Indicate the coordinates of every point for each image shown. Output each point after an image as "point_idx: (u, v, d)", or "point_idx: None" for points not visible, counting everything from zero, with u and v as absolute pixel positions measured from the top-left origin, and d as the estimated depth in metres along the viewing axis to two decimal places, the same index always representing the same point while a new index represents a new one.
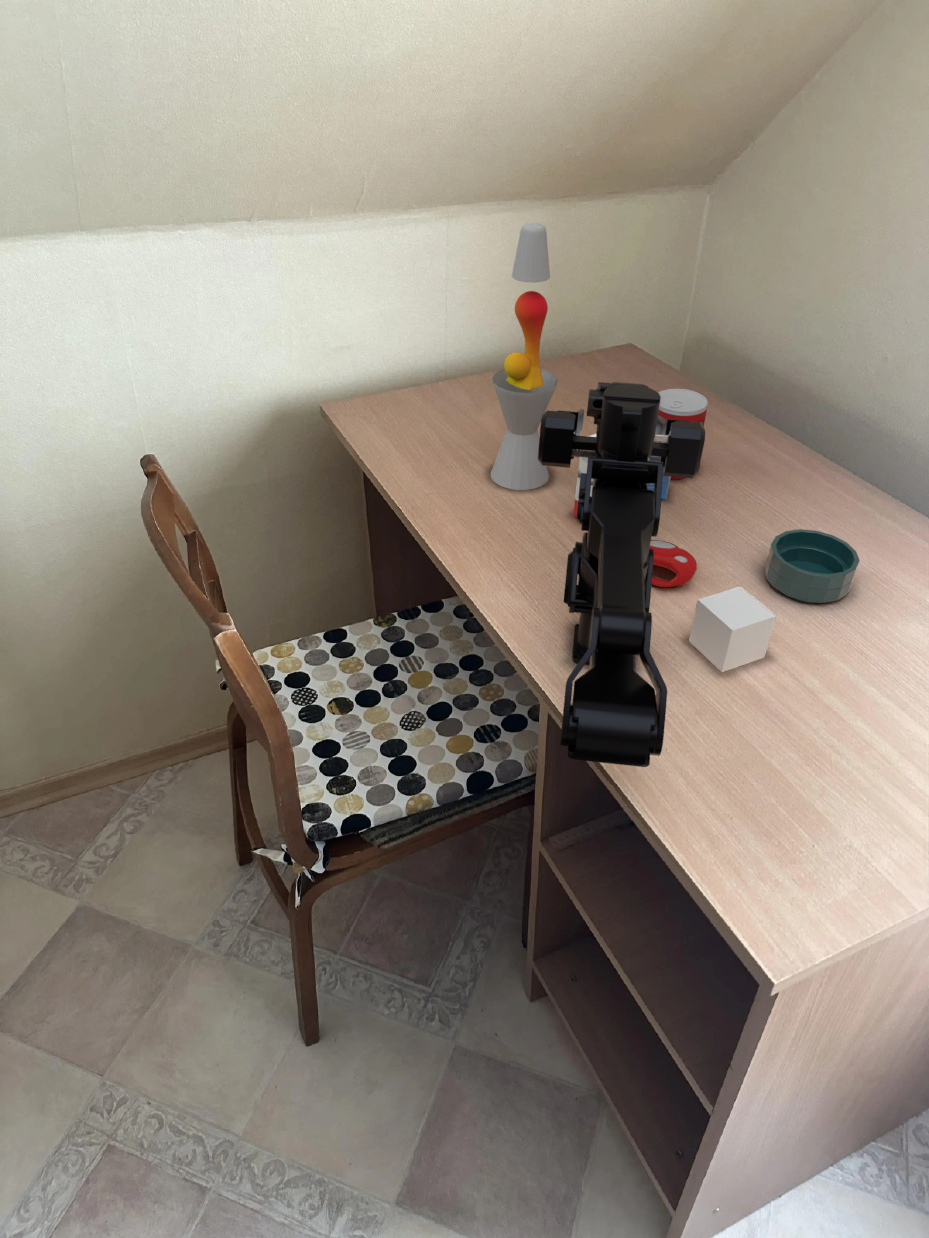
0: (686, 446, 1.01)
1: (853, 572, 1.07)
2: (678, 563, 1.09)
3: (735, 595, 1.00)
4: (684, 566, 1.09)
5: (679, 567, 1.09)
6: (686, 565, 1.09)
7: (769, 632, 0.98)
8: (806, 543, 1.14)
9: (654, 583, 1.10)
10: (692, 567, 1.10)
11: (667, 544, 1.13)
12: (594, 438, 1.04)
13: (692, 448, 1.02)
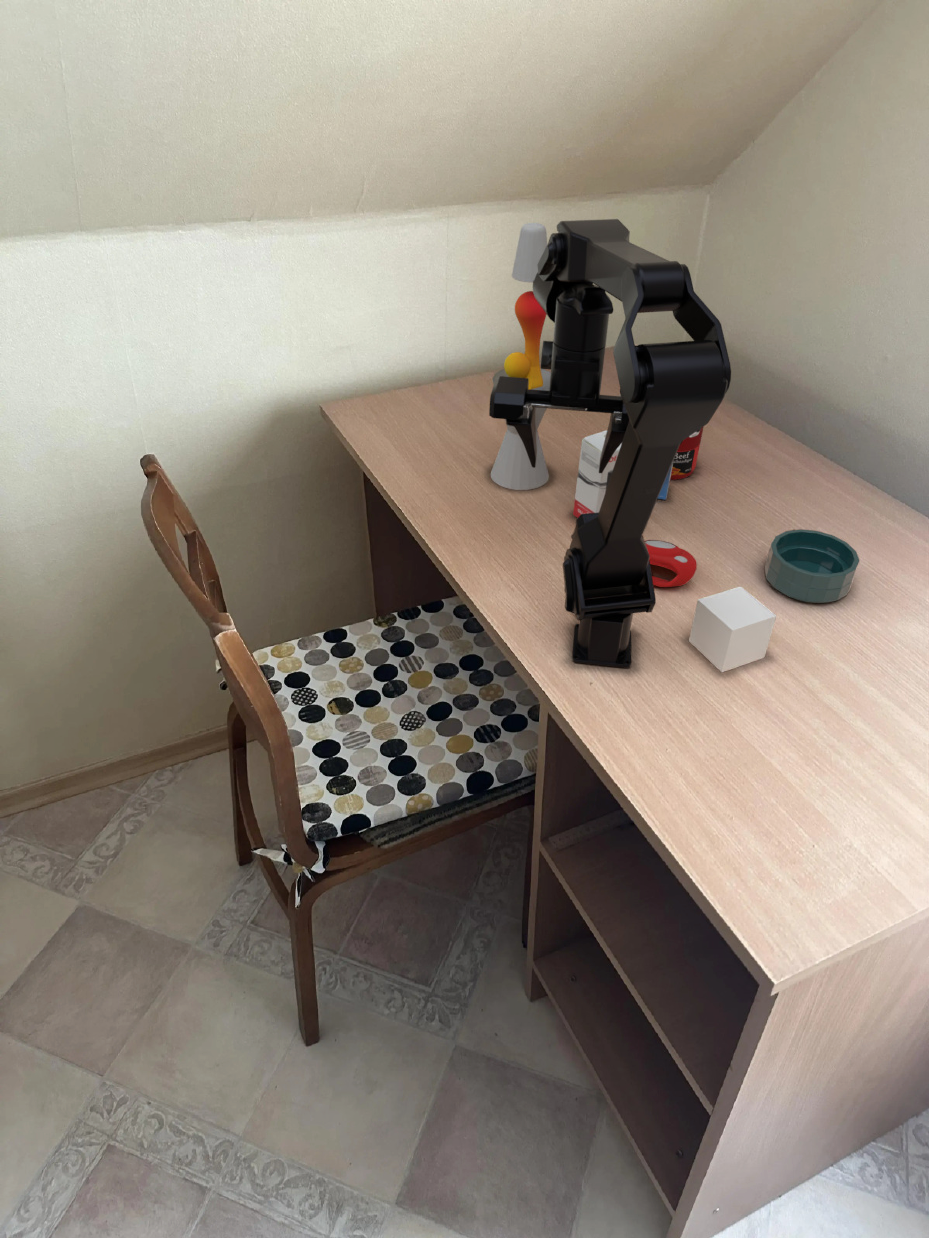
0: None
1: (853, 572, 1.07)
2: (678, 563, 1.09)
3: (735, 595, 1.00)
4: (684, 566, 1.09)
5: (679, 567, 1.09)
6: (686, 565, 1.09)
7: (769, 632, 0.98)
8: (806, 543, 1.14)
9: (654, 583, 1.10)
10: (692, 567, 1.10)
11: (667, 544, 1.13)
12: None
13: None
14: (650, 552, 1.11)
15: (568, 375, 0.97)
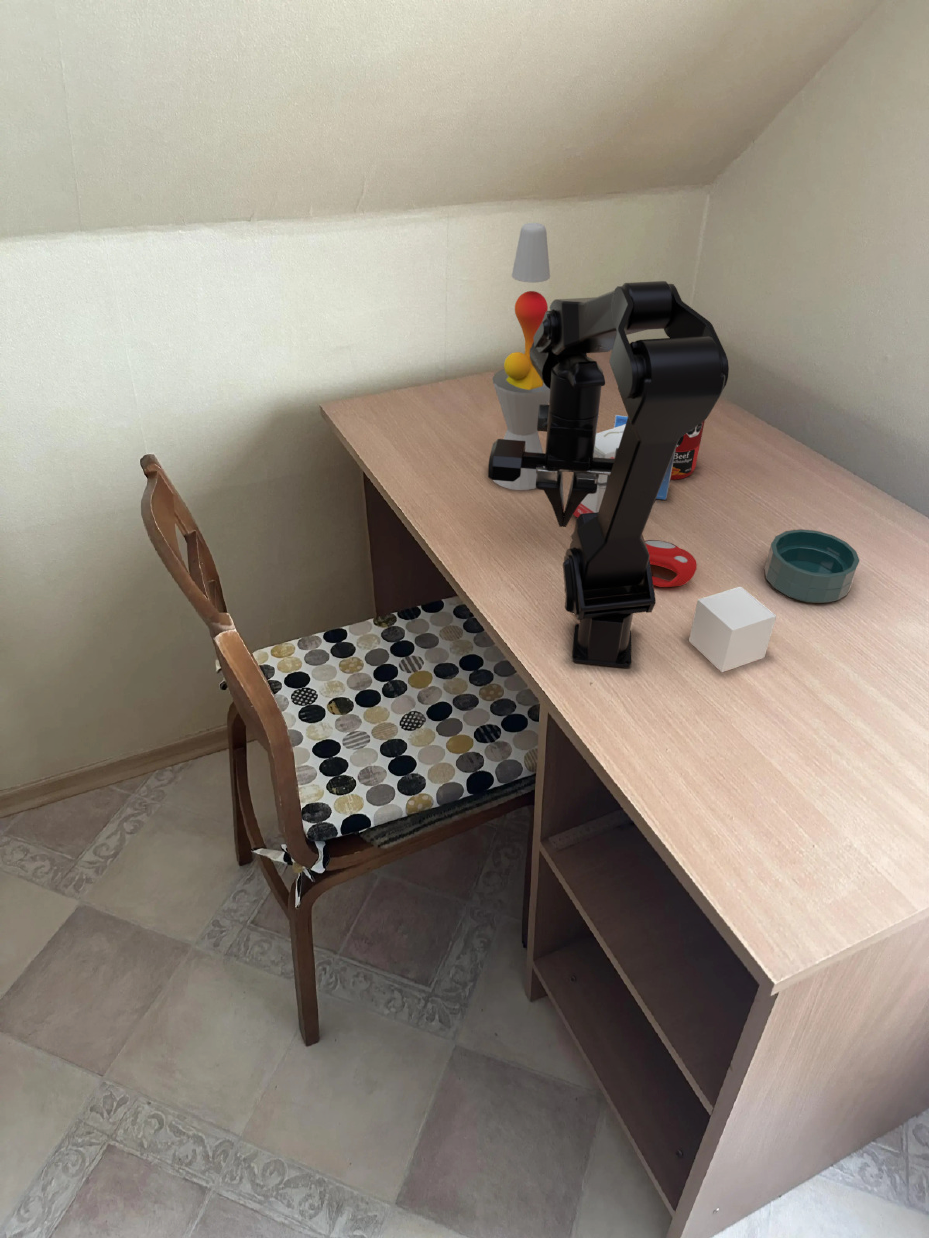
0: None
1: (853, 572, 1.07)
2: (678, 563, 1.09)
3: (735, 595, 1.00)
4: (684, 566, 1.09)
5: (679, 567, 1.09)
6: (686, 565, 1.09)
7: (769, 632, 0.98)
8: (806, 543, 1.14)
9: (654, 583, 1.10)
10: (692, 567, 1.10)
11: (667, 544, 1.13)
12: None
13: None
14: (650, 552, 1.11)
15: (563, 441, 1.02)
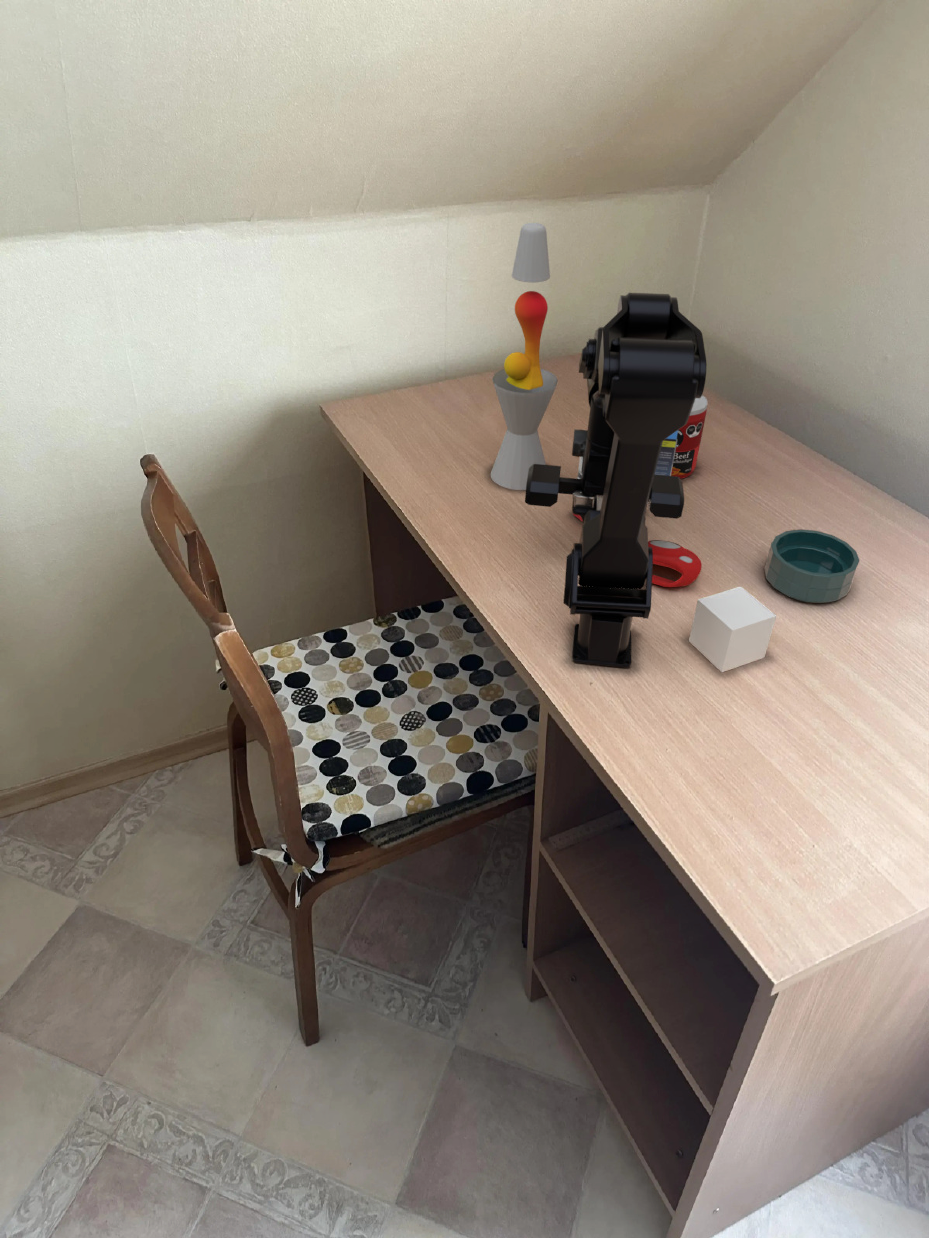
0: (667, 479, 1.08)
1: (853, 572, 1.07)
2: (683, 563, 1.09)
3: (735, 595, 1.00)
4: (689, 566, 1.09)
5: (684, 567, 1.09)
6: (691, 565, 1.09)
7: (769, 632, 0.98)
8: (806, 543, 1.14)
9: (659, 583, 1.10)
10: (697, 567, 1.10)
11: (672, 544, 1.13)
12: None
13: (673, 480, 1.07)
14: (655, 552, 1.11)
15: (601, 468, 1.03)
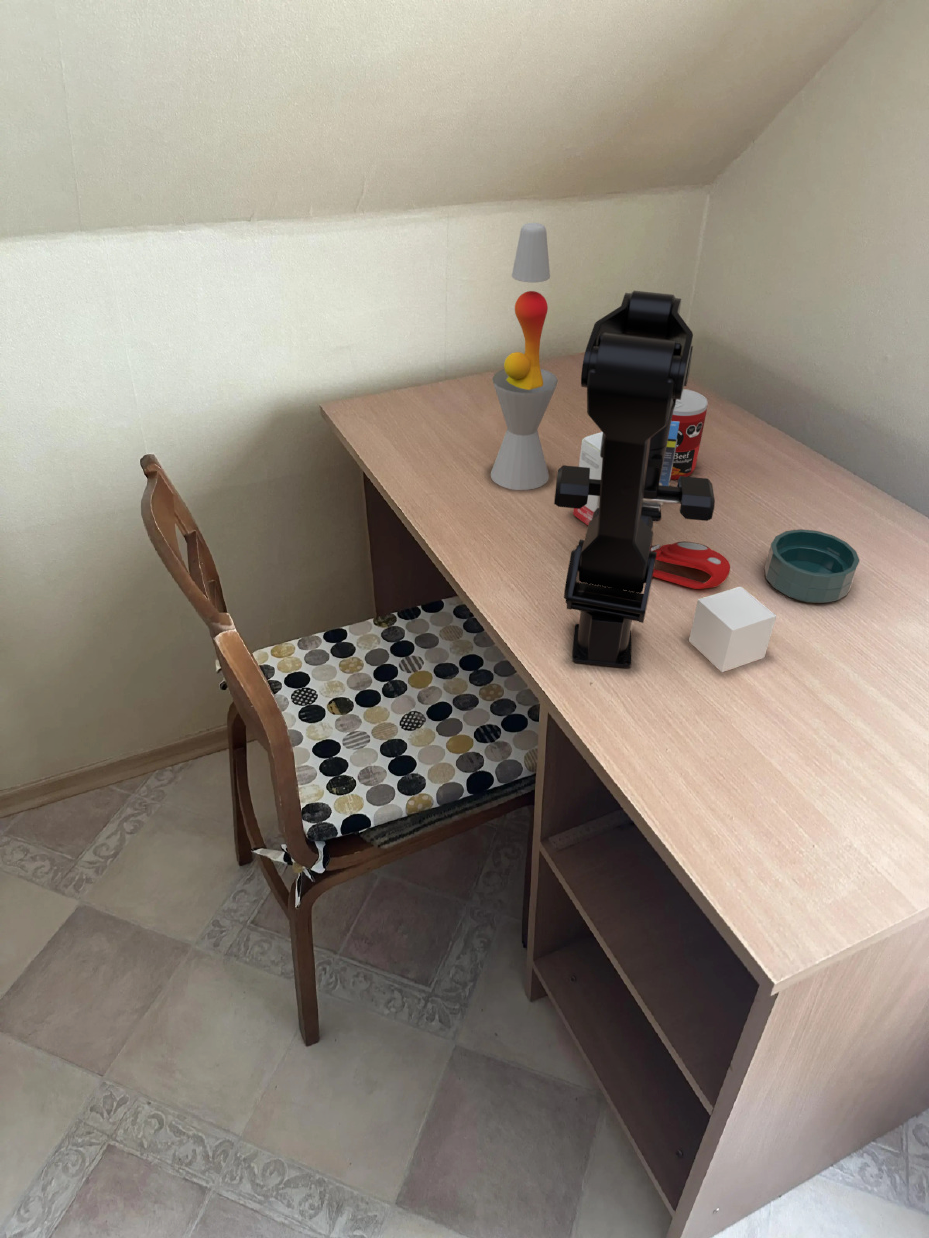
0: (696, 481, 1.07)
1: (853, 572, 1.07)
2: (712, 565, 1.09)
3: (735, 595, 1.00)
4: (718, 568, 1.09)
5: (713, 569, 1.09)
6: (720, 567, 1.09)
7: (769, 632, 0.98)
8: (806, 543, 1.14)
9: (688, 585, 1.10)
10: (726, 568, 1.10)
11: (699, 546, 1.12)
12: None
13: (703, 482, 1.07)
14: (683, 554, 1.11)
15: None
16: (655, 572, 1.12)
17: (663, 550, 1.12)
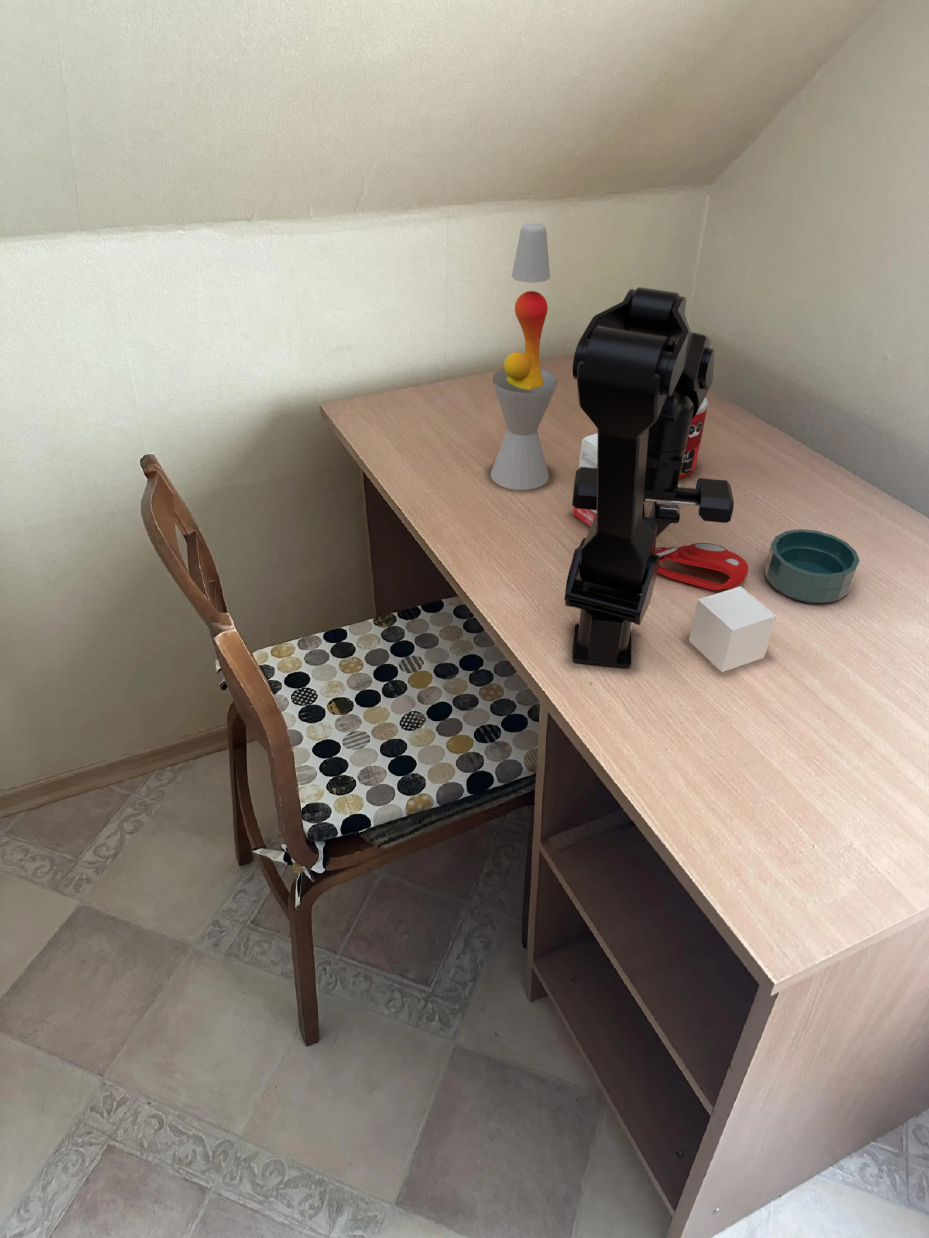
0: (715, 483, 1.07)
1: (853, 572, 1.07)
2: (731, 566, 1.09)
3: (735, 595, 1.00)
4: (737, 569, 1.09)
5: (732, 570, 1.08)
6: (738, 568, 1.09)
7: (769, 632, 0.98)
8: (806, 543, 1.14)
9: (706, 586, 1.10)
10: (744, 569, 1.09)
11: (717, 547, 1.12)
12: None
13: (721, 484, 1.07)
14: (701, 555, 1.11)
15: (651, 472, 1.03)
16: (673, 574, 1.11)
17: (681, 552, 1.12)
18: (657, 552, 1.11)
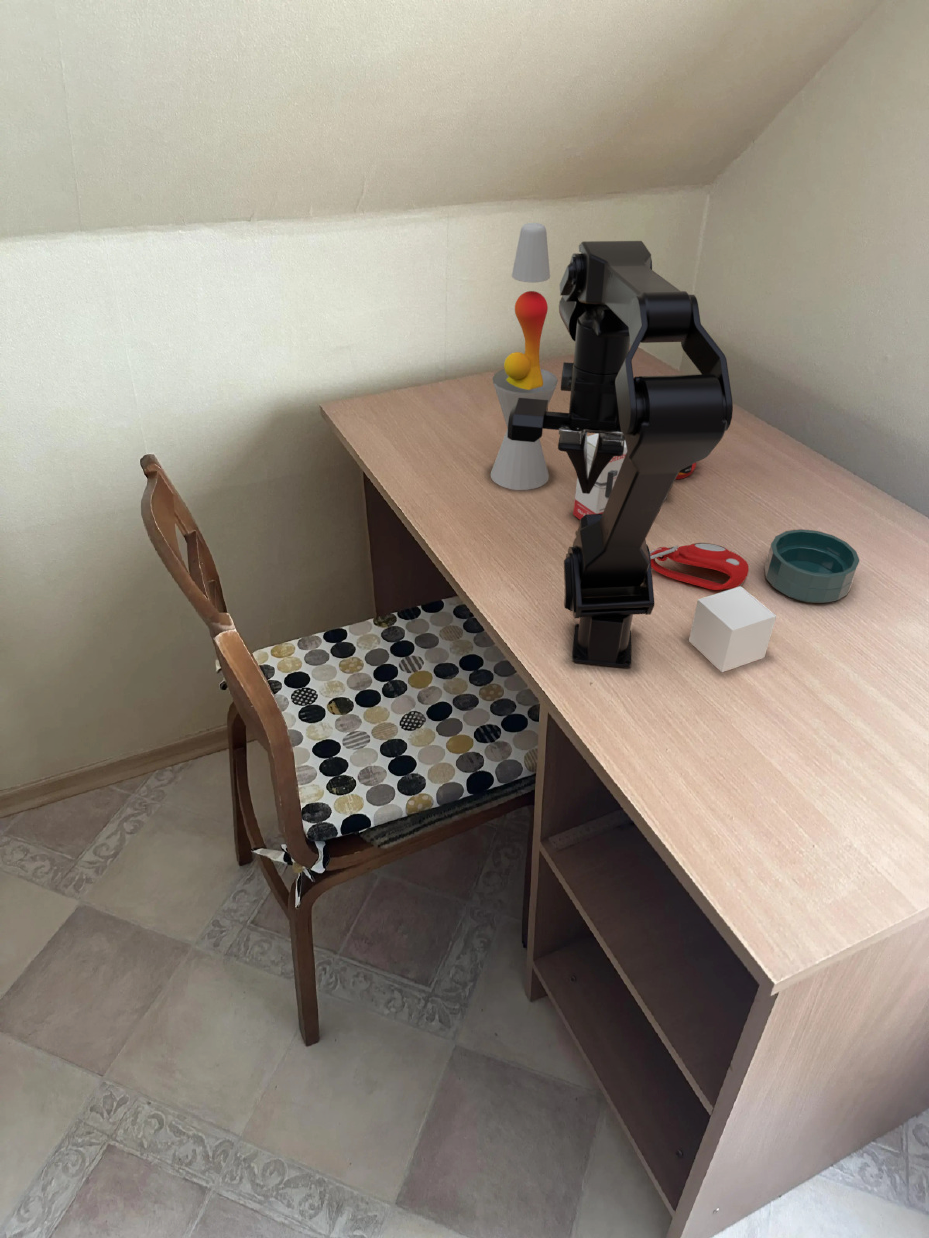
0: None
1: (853, 572, 1.07)
2: (731, 566, 1.09)
3: (735, 595, 1.00)
4: (737, 569, 1.09)
5: (732, 570, 1.08)
6: (739, 568, 1.09)
7: (769, 632, 0.98)
8: (806, 543, 1.14)
9: (707, 586, 1.10)
10: (744, 569, 1.09)
11: (717, 547, 1.12)
12: None
13: None
14: (701, 555, 1.11)
15: (588, 397, 0.95)
16: (673, 574, 1.11)
17: (681, 551, 1.12)
18: (657, 552, 1.11)
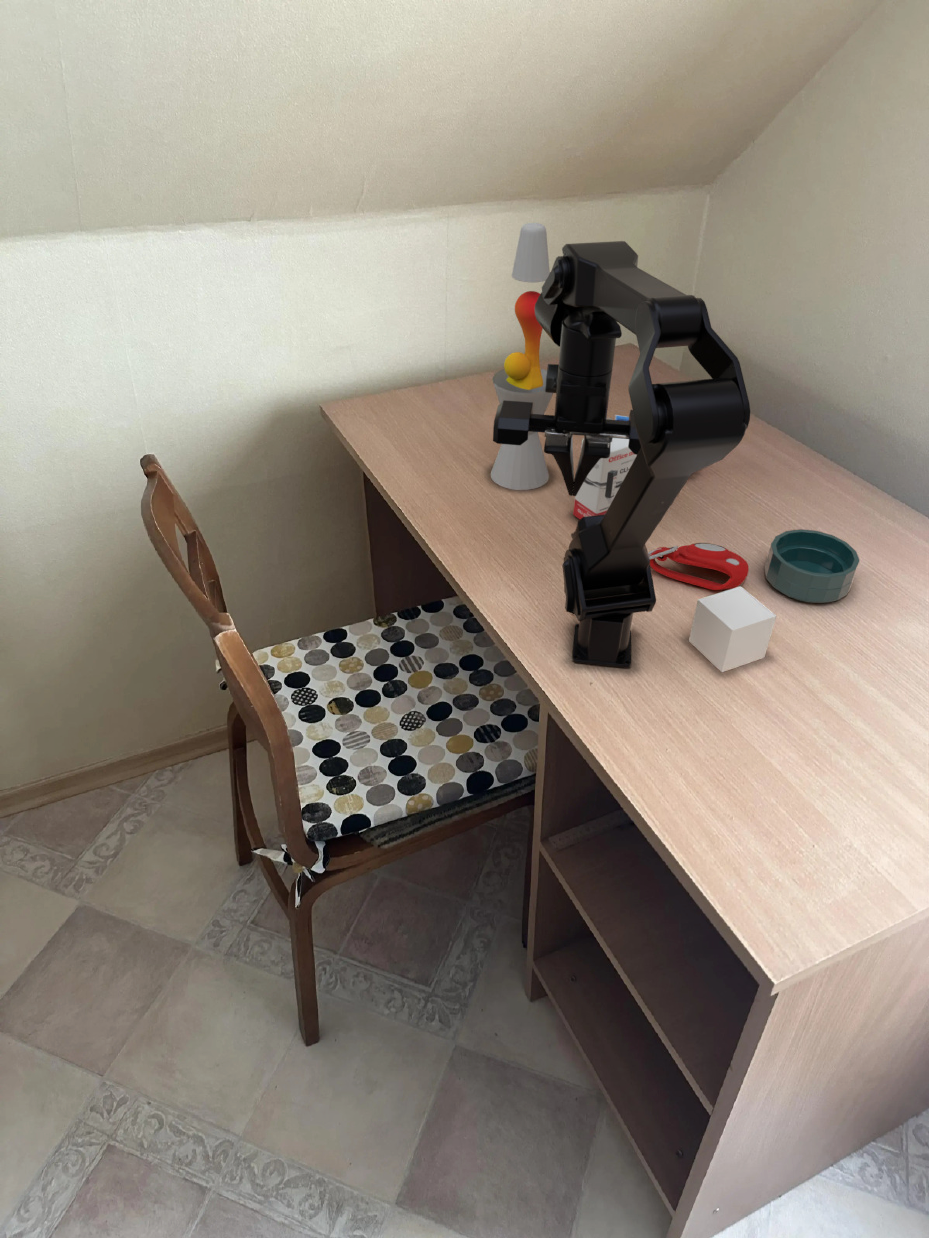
0: None
1: (853, 572, 1.07)
2: (731, 566, 1.09)
3: (735, 595, 1.00)
4: (737, 569, 1.09)
5: (732, 570, 1.08)
6: (739, 567, 1.09)
7: (769, 632, 0.98)
8: (806, 543, 1.14)
9: (707, 586, 1.10)
10: (744, 569, 1.09)
11: (717, 547, 1.12)
12: None
13: None
14: (701, 555, 1.11)
15: (574, 400, 0.95)
16: (673, 574, 1.11)
17: (681, 551, 1.12)
18: (657, 552, 1.11)
